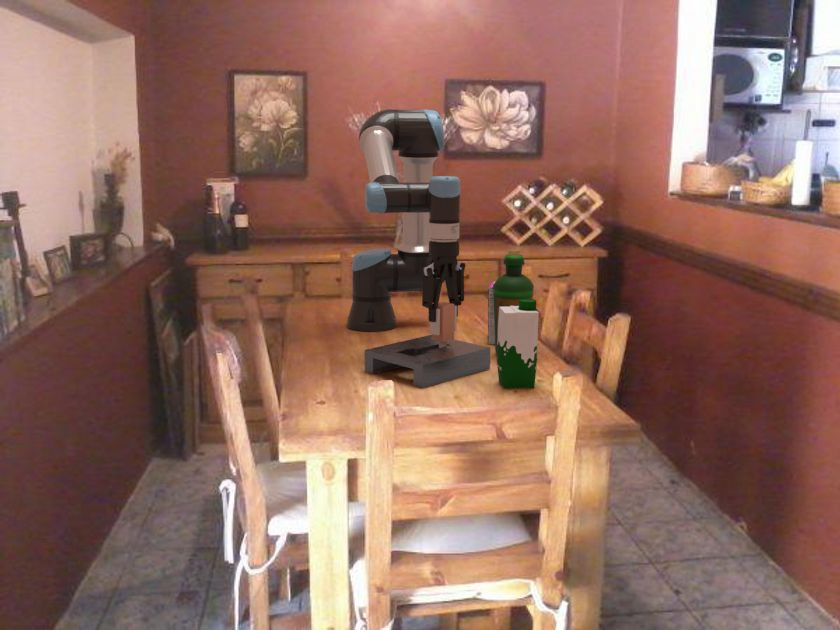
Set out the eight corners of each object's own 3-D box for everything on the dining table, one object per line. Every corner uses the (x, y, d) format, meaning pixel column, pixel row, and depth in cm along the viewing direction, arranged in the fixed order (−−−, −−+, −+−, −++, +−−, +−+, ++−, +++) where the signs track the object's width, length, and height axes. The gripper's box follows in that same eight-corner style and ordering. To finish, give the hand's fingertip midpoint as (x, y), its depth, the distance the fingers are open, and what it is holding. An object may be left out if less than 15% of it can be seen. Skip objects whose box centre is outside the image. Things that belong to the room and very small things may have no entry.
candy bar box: (491, 335, 246) (492, 280, 242) (508, 336, 245) (509, 281, 242) (486, 344, 235) (487, 287, 232) (504, 345, 234) (505, 287, 231)
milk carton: (539, 389, 193) (542, 303, 189) (500, 390, 192) (502, 304, 188) (531, 378, 202) (533, 296, 198) (493, 379, 201) (495, 297, 197)
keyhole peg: (429, 366, 212) (429, 304, 209) (442, 362, 216) (442, 301, 212) (443, 369, 209) (443, 306, 206) (456, 366, 212) (456, 304, 209)
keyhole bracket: (364, 371, 207) (364, 349, 206) (432, 354, 224) (432, 334, 223) (422, 388, 193) (422, 365, 192) (489, 368, 210) (490, 347, 209)
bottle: (505, 361, 217) (508, 254, 211) (484, 352, 226) (486, 249, 221) (539, 357, 222) (543, 251, 216) (517, 348, 231) (519, 247, 225)
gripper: (429, 244, 197) (428, 340, 202) (480, 238, 210) (478, 329, 215) (406, 241, 202) (406, 335, 207) (458, 235, 215) (456, 324, 220)
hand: (443, 332), depth 211 cm, fingers open, 5 cm apart
